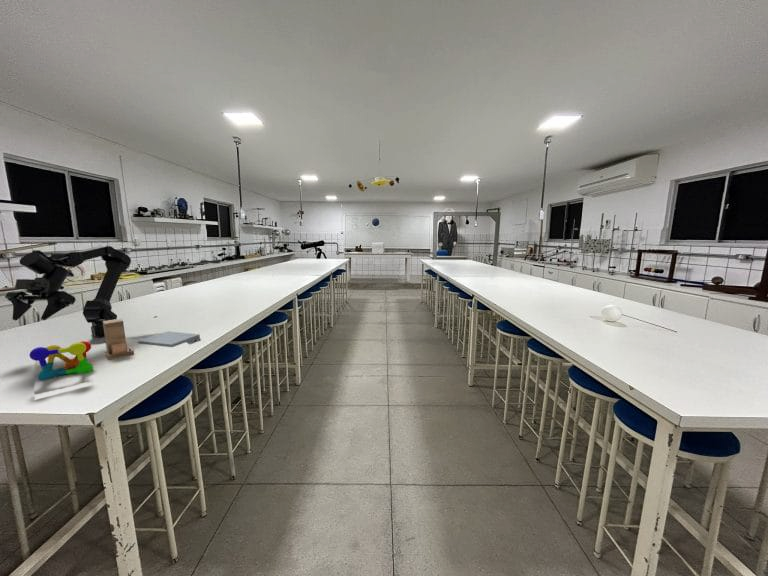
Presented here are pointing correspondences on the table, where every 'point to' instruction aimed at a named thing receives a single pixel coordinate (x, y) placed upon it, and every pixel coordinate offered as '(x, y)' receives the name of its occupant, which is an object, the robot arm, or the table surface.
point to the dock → (170, 338)
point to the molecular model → (55, 351)
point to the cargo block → (118, 348)
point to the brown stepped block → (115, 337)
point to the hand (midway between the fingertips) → (28, 319)
